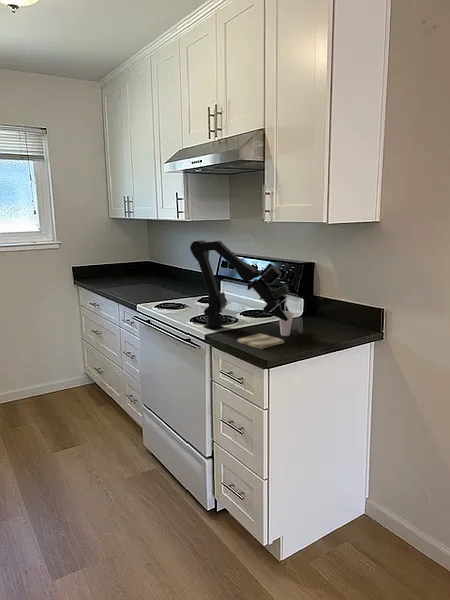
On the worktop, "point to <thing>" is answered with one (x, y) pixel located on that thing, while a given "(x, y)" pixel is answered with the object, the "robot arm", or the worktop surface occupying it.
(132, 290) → the worktop surface
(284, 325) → the smoothie
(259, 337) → the cutting board
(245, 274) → the robot arm
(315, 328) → the worktop surface
